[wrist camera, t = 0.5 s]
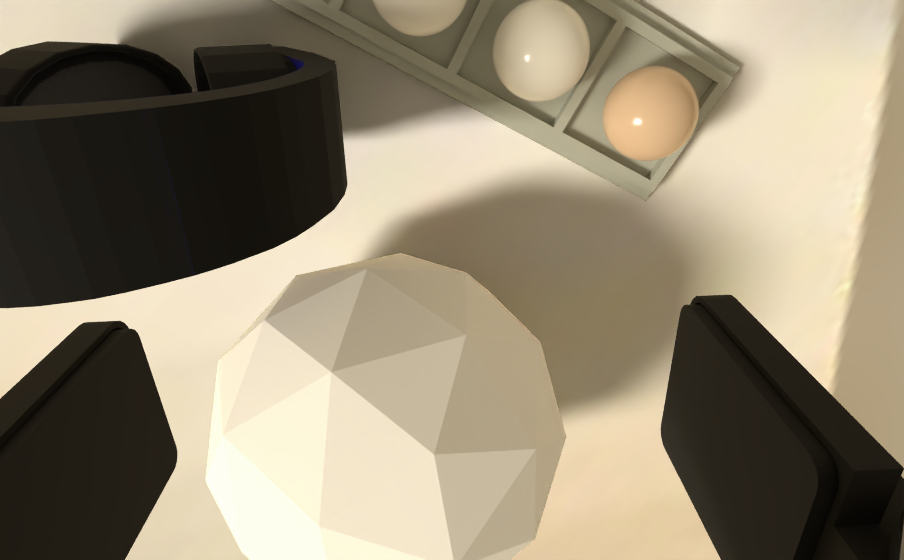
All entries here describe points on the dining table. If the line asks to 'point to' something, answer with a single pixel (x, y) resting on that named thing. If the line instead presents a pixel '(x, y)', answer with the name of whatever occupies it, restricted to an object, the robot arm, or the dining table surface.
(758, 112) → the dining table surface
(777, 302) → the dining table surface
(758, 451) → the robot arm
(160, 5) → the dining table surface
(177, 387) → the dining table surface
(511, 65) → the white egg
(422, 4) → the white egg
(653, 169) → the carton
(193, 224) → the headphones
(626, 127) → the brown egg
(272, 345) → the polyhedron
